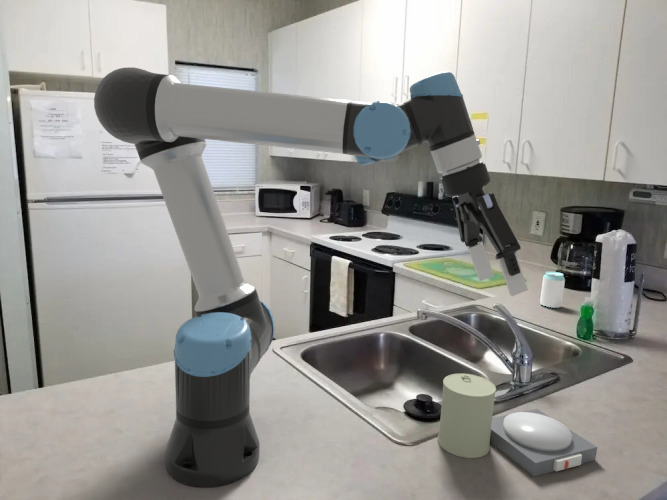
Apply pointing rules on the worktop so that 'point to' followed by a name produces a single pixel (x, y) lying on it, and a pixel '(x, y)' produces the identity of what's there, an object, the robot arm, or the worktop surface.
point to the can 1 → (466, 415)
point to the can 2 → (552, 289)
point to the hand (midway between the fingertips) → (501, 285)
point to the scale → (539, 442)
